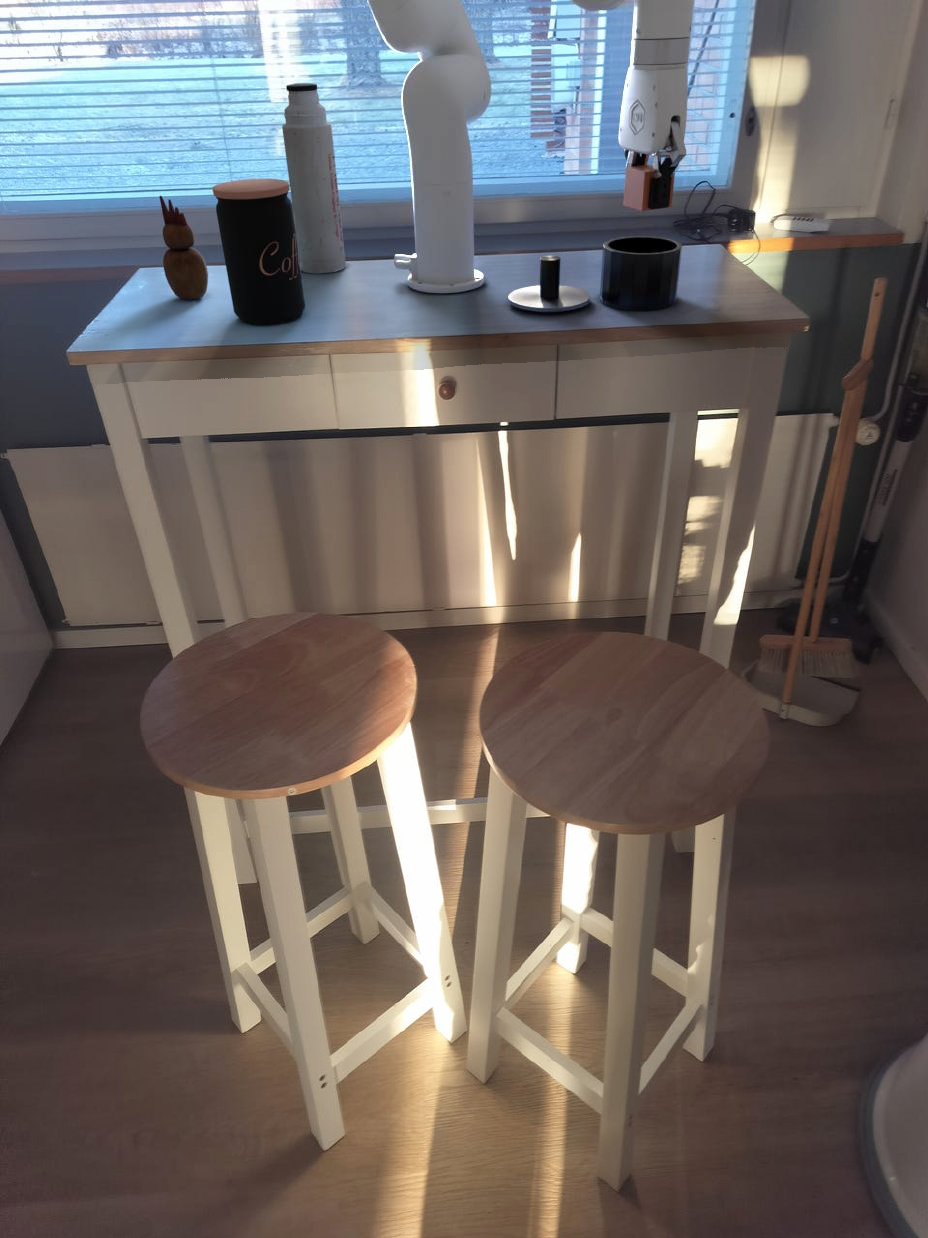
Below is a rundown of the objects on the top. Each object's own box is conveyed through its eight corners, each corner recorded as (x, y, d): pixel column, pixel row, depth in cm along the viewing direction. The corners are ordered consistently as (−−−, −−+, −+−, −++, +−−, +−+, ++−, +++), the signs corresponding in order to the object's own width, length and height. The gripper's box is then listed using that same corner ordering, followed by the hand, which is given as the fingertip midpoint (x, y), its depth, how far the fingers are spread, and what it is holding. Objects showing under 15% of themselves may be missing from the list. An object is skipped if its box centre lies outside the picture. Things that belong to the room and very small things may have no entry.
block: (641, 211, 123) (644, 171, 120) (623, 205, 127) (625, 166, 124) (671, 207, 124) (675, 168, 122) (652, 201, 128) (655, 163, 125)
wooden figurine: (164, 297, 141) (141, 196, 133) (194, 289, 145) (174, 190, 136) (187, 304, 138) (165, 201, 129) (218, 296, 141) (199, 195, 132)
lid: (498, 312, 130) (498, 265, 126) (520, 290, 139) (521, 246, 136) (580, 318, 127) (582, 270, 123) (597, 295, 136) (600, 250, 132)
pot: (593, 308, 131) (596, 252, 126) (608, 287, 139) (611, 234, 135) (669, 313, 127) (676, 256, 123) (680, 292, 136) (686, 237, 132)
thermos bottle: (351, 262, 157) (333, 80, 141) (337, 274, 151) (317, 85, 134) (309, 261, 158) (287, 81, 142) (294, 272, 152) (268, 85, 136)
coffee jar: (273, 330, 126) (252, 194, 115) (220, 320, 130) (195, 188, 120) (320, 311, 133) (305, 181, 122) (268, 302, 138) (249, 176, 127)
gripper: (601, 54, 120) (594, 198, 131) (672, 58, 107) (658, 217, 118) (648, 51, 122) (637, 192, 133) (722, 55, 110) (704, 211, 120)
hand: (647, 203), depth 125 cm, fingers closed on block, 5 cm apart
